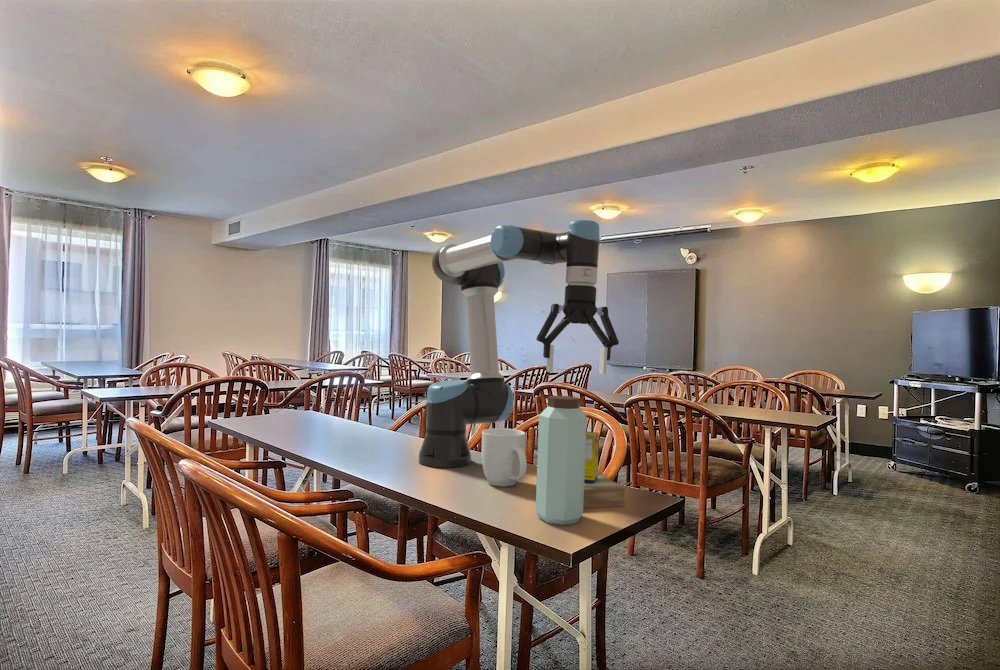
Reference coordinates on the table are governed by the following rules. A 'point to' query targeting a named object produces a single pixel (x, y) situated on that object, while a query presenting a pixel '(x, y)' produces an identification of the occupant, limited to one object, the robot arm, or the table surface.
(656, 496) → the table surface
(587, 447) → the supplement box
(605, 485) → the oak stand
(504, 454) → the mug
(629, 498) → the table surface
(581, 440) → the water bottle
